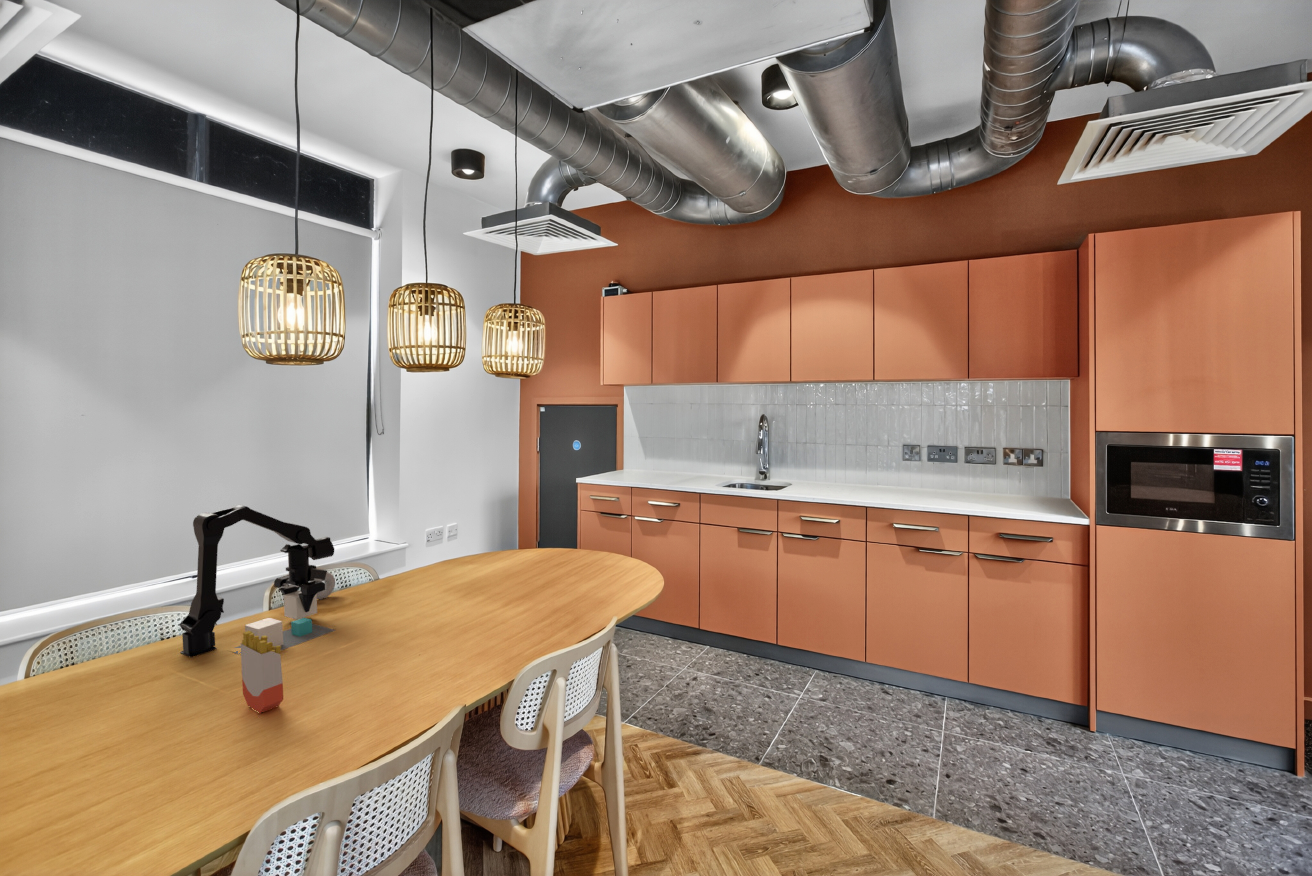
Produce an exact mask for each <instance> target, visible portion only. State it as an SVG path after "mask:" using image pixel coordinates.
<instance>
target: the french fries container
mask: <svg viewBox="0 0 1312 876" xmlns="http://www.w3.org/2000/svg"><path fill="white" fill-rule="evenodd" d="M267 638H268V637H267V636H266V635H265V636H261V639H259V636H254V634H253V633H252V632H251V631H247V632H245V631H243V632H242V640H241V643H240V646H241V655H240V660H241V661H240V663H241V682H242V683H241V684H242V695H243V697H244V700H245V702H246V704H247V705H246V706H247V707H248V706H250V707H251V708H253V709H254V710H256V711H258V712H259V713H260V714H262V713H261V712H263V713H265V712H267V711H266V710H268V711H270V710H272V709H271V708H273V709H274V707H275V708H277V707H276V706H278V707H279V706H280V704H281V703H282V702H283V700H284V681H283V671H282V660H281V659H282V658H281V651H280V649H281V646H276V647H275V646H273V642H268V643H267ZM251 708H250V709H251ZM269 709H270V710H269ZM254 710H253V711H254ZM264 711H265V712H264Z"/></svg>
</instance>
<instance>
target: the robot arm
mask: <svg viewBox="0 0 1312 876" xmlns="http://www.w3.org/2000/svg"><path fill="white" fill-rule="evenodd" d="M241 521H245V522H247V523H251V524H252V525H256V526H258V527H260V528H264V529H265V530H269V531H272V532H273V533H275V534H277V535H278V536H279V537H281V538H283V539H284V540H285V541H287V542H290V543H294V545H290V544H289V543H286V544H285V545H284V546H283V547H282V548H281V549H280V551H279V552H280V553H281V552H282V553H284V554H287V559H288V566H286V567H285V571H286V572H288V574H287V575H283V576H280V577H276V578H275V580H274V581H273V584H274V585H273V586H274V588H276V589H278V591H279V592H281V594H282V596H284V595H286V594H289V593H293V592H296V591H301V593H299V594H298V595H299V598H300V600H301V603H302V606H303V608H304V610H305V612H309V610H310V607H311V604H312V601H313V598H314V596H315V595H316V594H317V593H318V592H320V591H324V590H325V589H326V587H325V582H324V581H322V582H321V581H314V579H322V580H325V578H326V574H327V572H328V570H326V569H321V568H317V566H316V565H315V564H314V565H313V564H310V559H311V560H313V561H317V560H321V559H325V558H331V557H333V556H334V555H335V554H334V553H335V546H334V545H333V544H334V543H333V542H332V540H331V537H330V536H329V537H328V536H324V537H322V538H318V539H316V538H315V537H314V536H313V535H312V534H311V529H310V528H309V527H307V526H304V525H299V524H294V523H290V522H286V521H283V520H280V519H277V518H274V517H271V516H270V515H267V514H265V513H262V512H259V511H257V510H254V509H251V508H250V507H248V506H245V505H241V504H240V505H239V504H238V505H234V506H233V507H230V508H225V509H221V510H217V511H214V512H211V513H210V512H201V513H200V514H198V515H196V517H194V518H193V522H192V527H193V532H194V536H195V540H196V542H197V544H198V553H197V569H196V570H197V574H196V593H195V595H194V597H193V599H192V600H191V603H190V607H189V610H188V611H189V612H188V614H187V616H186V617H184V619H183V620H182V621H181V622H180V623H179V627H180V628H181V630H182V631H183V632H182V635H181V636H182V651H180V654H181V655H184V656H186V657H189V656H190V657H189V658H194V657H193V656H195V657H197V655H198V656H200V655H203V654H207V653H209V652H212V650H213V651H214V650H215V649H216V650H217V649H218V648H217V646H216V634H215V633H216V632H215V631H214V629H215V626H216V623H217V622H218V621H219V620H220V619H221V618H222V614H224V613H225V611H224V608H223V607H224V603H225V602H224V601H225V599H224V598H223V597H220V596H218V595H217V591H216V590H217V570H218V569H217V567H218V549H219V548H218V547H219V544H220V541H221V540H222V537H223V536H224V533H225V532H224V530H225V529H226V528H228V527H231V526H234V525H235V524H237V523H239V522H241ZM303 544H304V545H303ZM310 581H313V582H310Z"/></svg>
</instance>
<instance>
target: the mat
mask: <svg viewBox="0 0 1312 876" xmlns="http://www.w3.org/2000/svg"><path fill="white" fill-rule="evenodd" d="M335 631H336V629H333V628H329V627H327V626H322V625H319V624H315V623H312V633H309V634H306V635H303V636H300V637H298V636H295V635H292V631H291V628H289V629H286V630H283V645H280V646H281V649H280V652H281V651H285V650H286V649H289V648H293V647H295V646H297V645H300V644H303V643H305V642H308V641H310V640H313V639H317V638H319V637H322V636H324V635H327V634H330V633H333V632H335ZM234 648H241V645H238V646H236V647H234ZM240 653H241V652H240ZM240 653H239V654H240ZM234 654H237V655H239V654H238V651H236V652H234Z"/></svg>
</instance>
